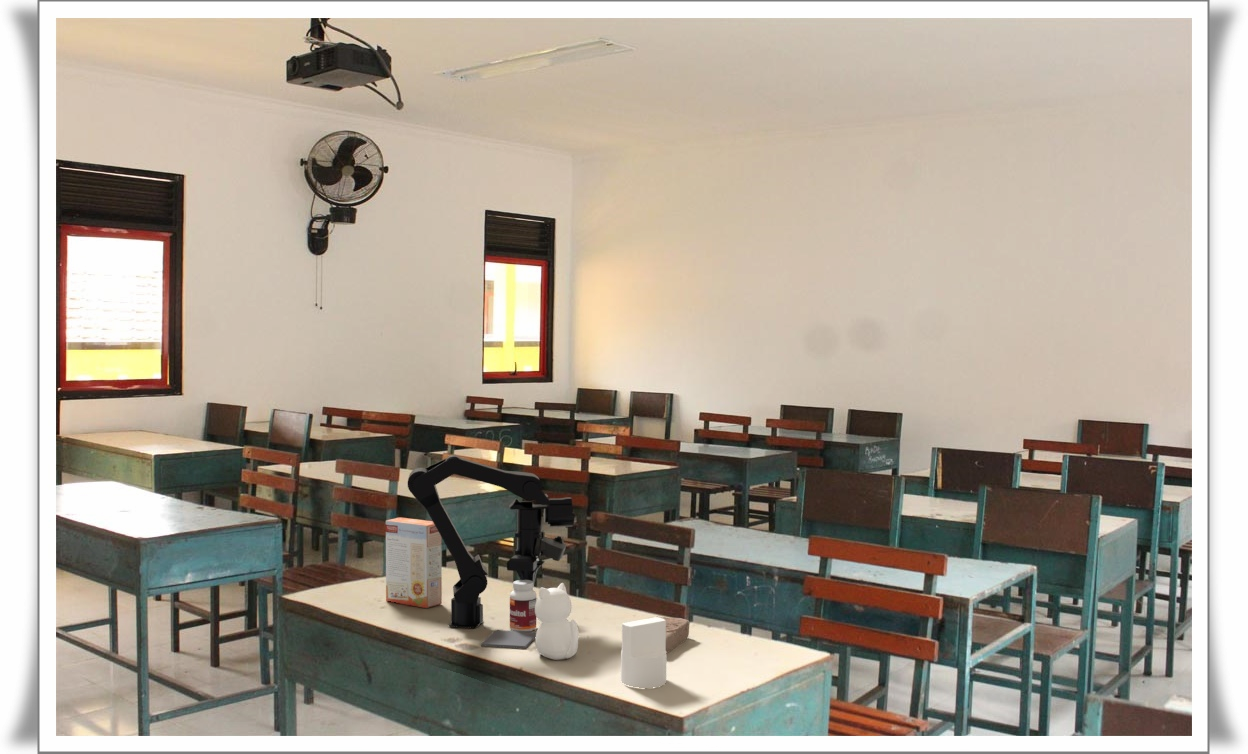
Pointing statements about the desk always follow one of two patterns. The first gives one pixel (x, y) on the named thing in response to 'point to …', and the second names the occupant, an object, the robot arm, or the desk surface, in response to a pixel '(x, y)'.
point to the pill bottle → (523, 606)
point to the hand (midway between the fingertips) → (529, 593)
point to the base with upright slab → (644, 653)
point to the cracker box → (413, 562)
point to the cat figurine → (555, 624)
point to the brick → (675, 632)
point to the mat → (509, 639)
